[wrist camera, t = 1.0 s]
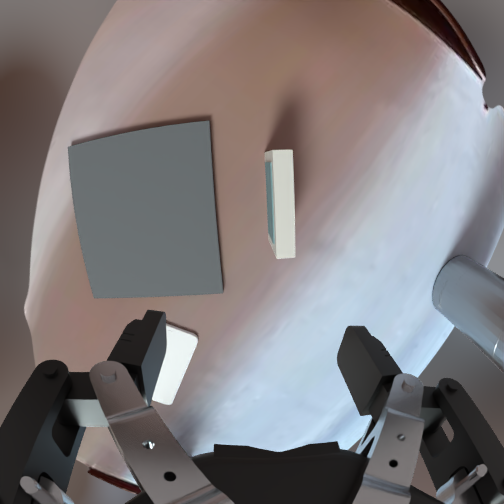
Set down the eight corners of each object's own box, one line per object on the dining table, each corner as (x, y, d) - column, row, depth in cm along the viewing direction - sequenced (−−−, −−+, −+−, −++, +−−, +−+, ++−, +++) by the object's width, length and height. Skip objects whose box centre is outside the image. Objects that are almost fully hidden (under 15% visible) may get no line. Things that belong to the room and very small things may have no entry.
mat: (209, 121, 25) (209, 120, 25) (223, 290, 31) (223, 293, 30) (70, 147, 24) (67, 147, 24) (96, 296, 30) (94, 298, 30)
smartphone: (126, 389, 35) (143, 316, 31) (127, 386, 36) (144, 312, 32) (171, 406, 36) (200, 337, 32) (172, 402, 37) (200, 334, 33)
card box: (280, 151, 27) (292, 149, 21) (283, 238, 30) (295, 257, 24) (263, 152, 27) (271, 150, 21) (267, 239, 29) (275, 258, 24)
